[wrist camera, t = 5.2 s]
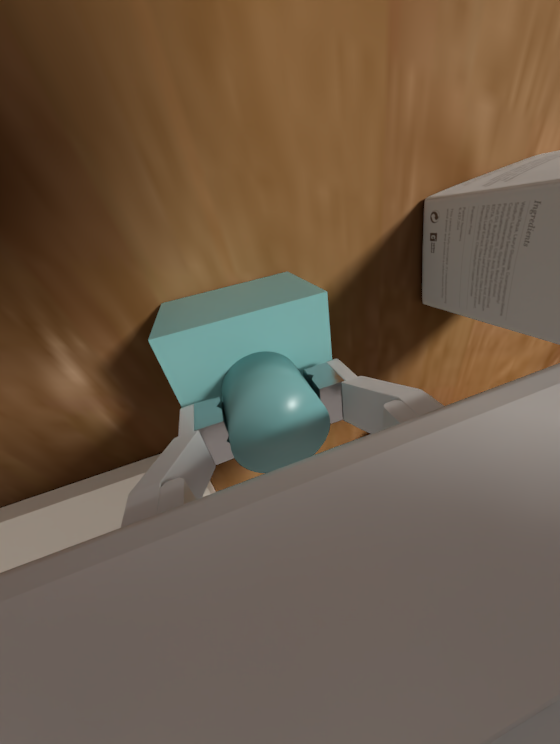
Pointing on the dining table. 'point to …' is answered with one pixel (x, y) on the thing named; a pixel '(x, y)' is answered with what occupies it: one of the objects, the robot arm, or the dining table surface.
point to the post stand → (68, 514)
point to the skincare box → (498, 248)
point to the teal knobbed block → (252, 363)
